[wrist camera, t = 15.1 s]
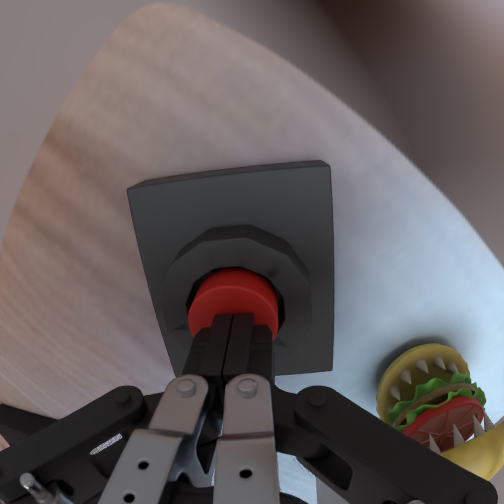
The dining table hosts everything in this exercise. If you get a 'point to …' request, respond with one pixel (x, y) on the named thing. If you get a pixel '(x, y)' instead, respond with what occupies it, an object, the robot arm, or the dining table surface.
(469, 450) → the hamburger
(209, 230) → the button block
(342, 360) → the dining table surface
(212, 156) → the dining table surface
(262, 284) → the button
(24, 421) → the panel
